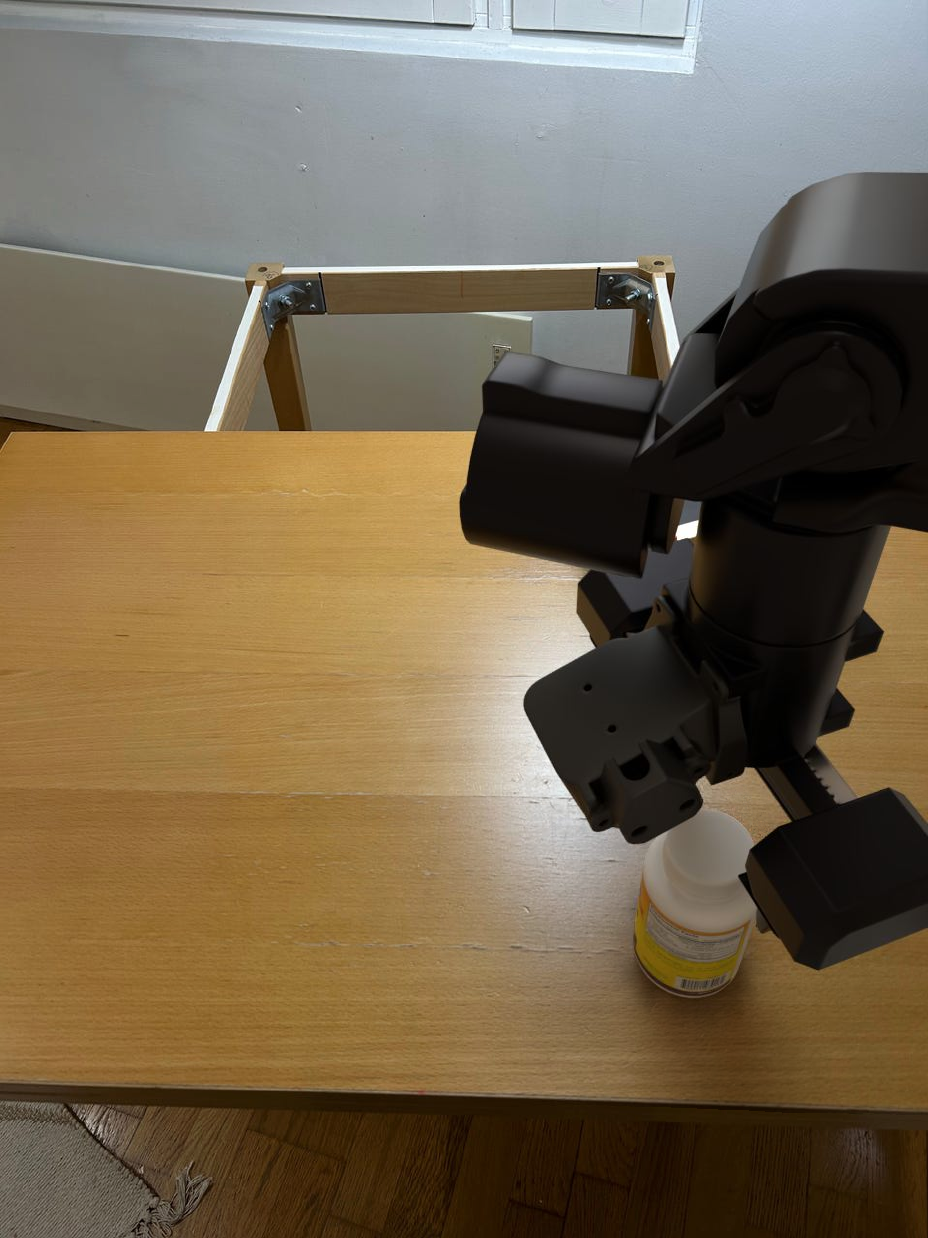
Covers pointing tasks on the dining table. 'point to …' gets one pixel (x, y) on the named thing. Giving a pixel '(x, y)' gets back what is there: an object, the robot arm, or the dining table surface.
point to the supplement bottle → (695, 906)
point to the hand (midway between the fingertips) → (713, 837)
